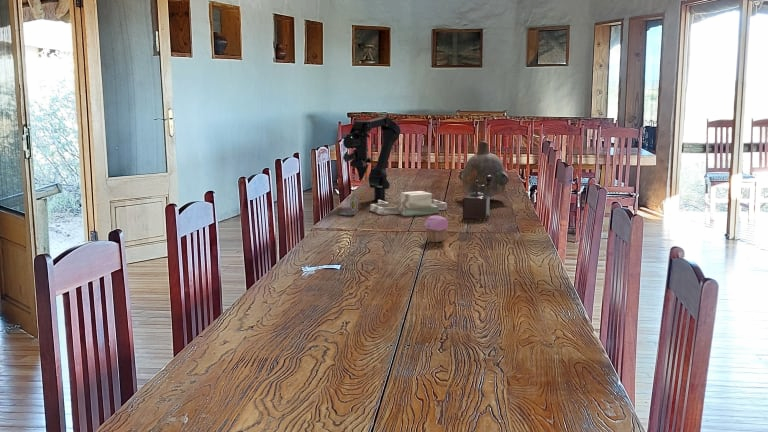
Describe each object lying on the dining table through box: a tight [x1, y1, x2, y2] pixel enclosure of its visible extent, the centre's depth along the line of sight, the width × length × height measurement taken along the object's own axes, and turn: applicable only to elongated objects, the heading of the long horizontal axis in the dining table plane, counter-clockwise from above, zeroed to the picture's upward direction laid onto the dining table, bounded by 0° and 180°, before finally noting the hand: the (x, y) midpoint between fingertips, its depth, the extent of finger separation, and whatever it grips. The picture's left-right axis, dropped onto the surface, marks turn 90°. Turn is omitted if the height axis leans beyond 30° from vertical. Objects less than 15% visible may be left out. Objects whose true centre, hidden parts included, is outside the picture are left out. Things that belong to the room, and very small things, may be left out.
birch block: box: [400, 190, 433, 209], centre depth 348 cm, size 9×11×9 cm
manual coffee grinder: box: [462, 175, 494, 220], centre depth 339 cm, size 16×11×18 cm
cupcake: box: [424, 214, 449, 243], centre depth 287 cm, size 9×9×10 cm
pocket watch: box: [339, 191, 359, 217], centre depth 340 cm, size 8×8×10 cm
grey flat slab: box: [369, 199, 448, 217], centre depth 355 cm, size 28×34×3 cm
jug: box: [458, 140, 510, 198], centre depth 381 cm, size 24×21×30 cm
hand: (361, 179), depth 366 cm, fingers closed
